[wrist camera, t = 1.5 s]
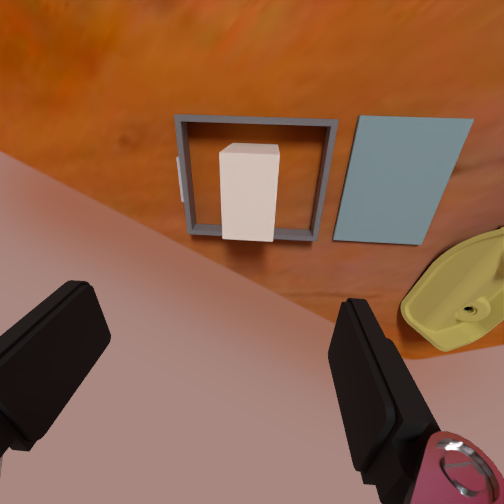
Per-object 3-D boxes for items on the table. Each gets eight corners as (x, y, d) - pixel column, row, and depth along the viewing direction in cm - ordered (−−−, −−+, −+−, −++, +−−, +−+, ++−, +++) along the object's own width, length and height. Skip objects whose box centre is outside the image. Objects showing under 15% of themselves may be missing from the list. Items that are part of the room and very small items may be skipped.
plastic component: (478, 340, 36) (437, 355, 32) (433, 302, 41) (393, 311, 37) (620, 223, 25) (585, 223, 21) (534, 193, 30) (492, 188, 26)
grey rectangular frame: (334, 119, 25) (338, 119, 23) (314, 234, 32) (316, 241, 30) (176, 114, 26) (170, 114, 24) (189, 227, 33) (184, 233, 31)
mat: (470, 118, 24) (474, 119, 24) (419, 243, 31) (421, 244, 31) (358, 115, 25) (360, 115, 24) (332, 238, 32) (333, 239, 31)
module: (277, 144, 27) (279, 154, 20) (272, 213, 31) (273, 241, 24) (232, 142, 27) (219, 152, 20) (233, 211, 31) (222, 238, 24)
